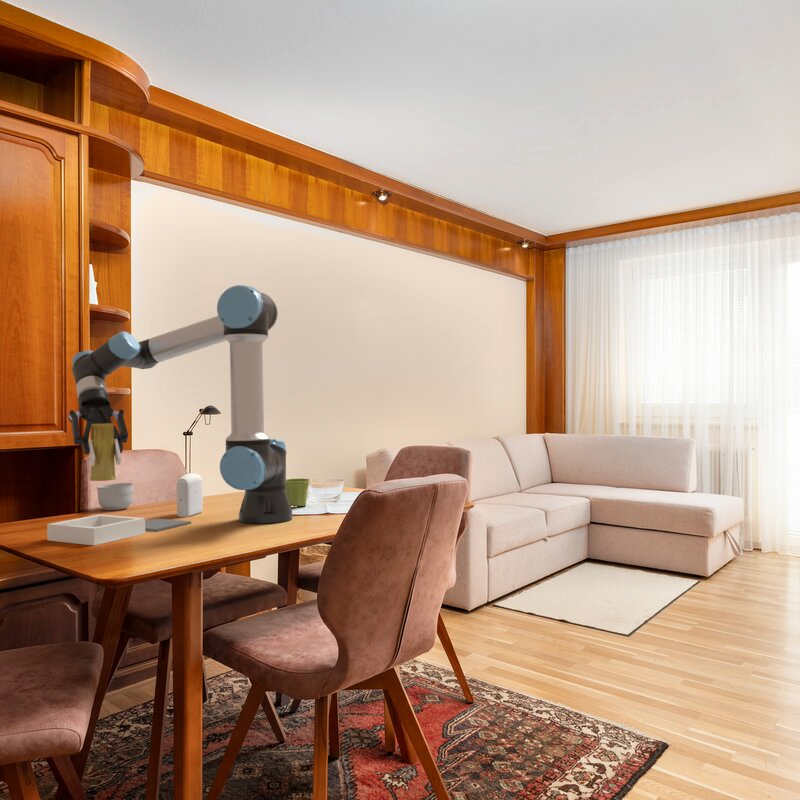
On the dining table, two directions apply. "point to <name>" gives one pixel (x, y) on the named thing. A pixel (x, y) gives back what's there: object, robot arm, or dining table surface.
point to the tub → (95, 529)
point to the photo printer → (189, 495)
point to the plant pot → (297, 491)
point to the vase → (103, 452)
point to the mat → (163, 524)
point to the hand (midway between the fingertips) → (106, 461)
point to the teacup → (115, 496)
